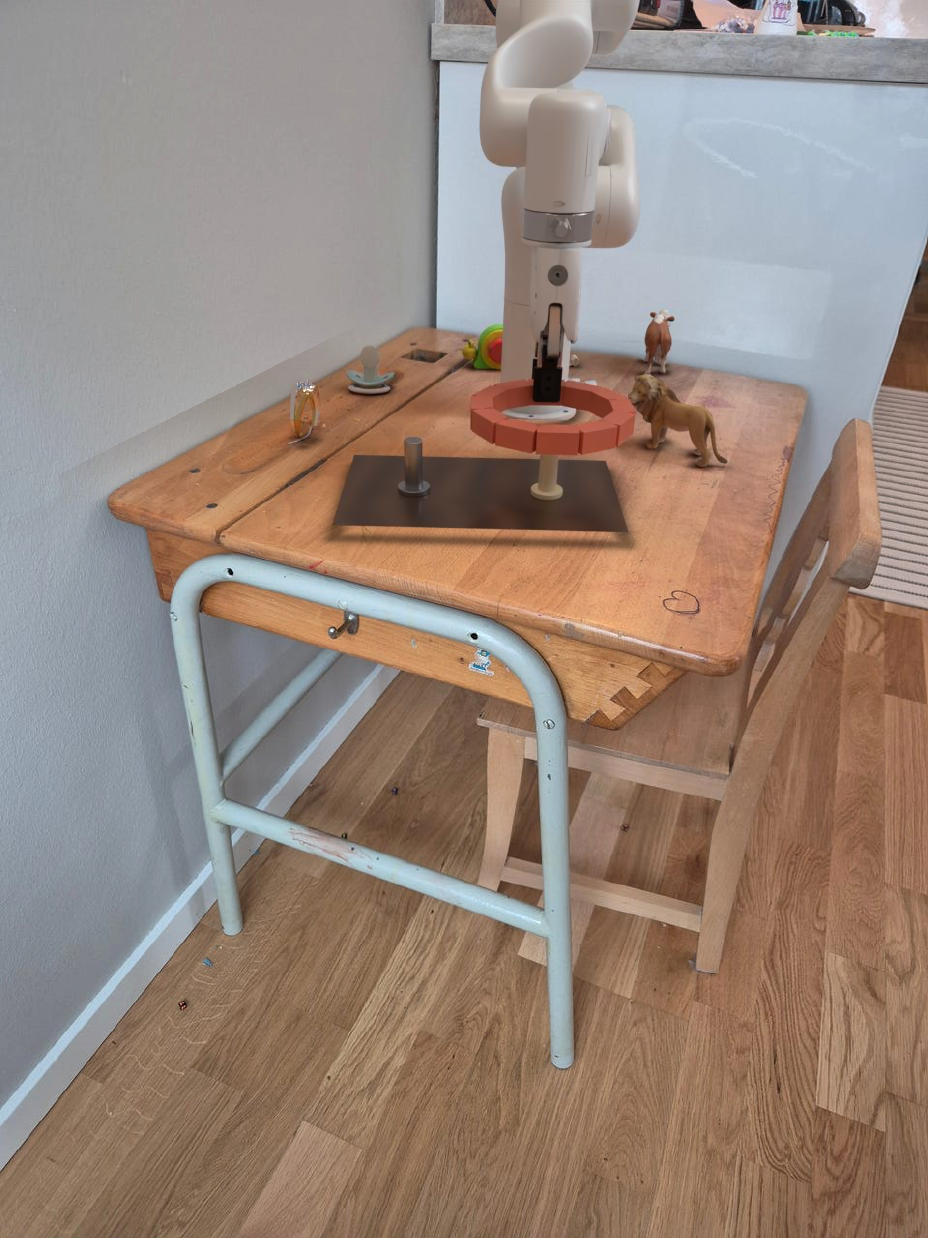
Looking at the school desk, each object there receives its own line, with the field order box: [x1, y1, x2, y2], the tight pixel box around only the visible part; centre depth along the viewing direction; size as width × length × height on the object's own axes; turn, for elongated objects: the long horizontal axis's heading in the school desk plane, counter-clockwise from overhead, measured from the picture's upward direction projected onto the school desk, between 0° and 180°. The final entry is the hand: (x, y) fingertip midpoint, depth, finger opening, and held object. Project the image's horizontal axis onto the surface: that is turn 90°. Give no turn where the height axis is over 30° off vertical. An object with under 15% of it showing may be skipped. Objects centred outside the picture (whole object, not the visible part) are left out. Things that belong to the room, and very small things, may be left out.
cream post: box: [531, 454, 563, 500], centre depth 95 cm, size 4×4×6 cm
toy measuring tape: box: [461, 323, 580, 370], centre depth 140 cm, size 6×20×7 cm, turn 96°
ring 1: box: [289, 378, 322, 439], centre depth 111 cm, size 7×3×8 cm, turn 160°
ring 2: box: [469, 379, 637, 456], centre depth 95 cm, size 18×18×2 cm
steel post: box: [398, 436, 430, 497], centre depth 95 cm, size 4×4×6 cm
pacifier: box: [345, 345, 396, 395], centre depth 129 cm, size 7×6×6 cm
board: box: [332, 454, 629, 533], centre depth 98 cm, size 31×19×2 cm, turn 89°
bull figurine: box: [642, 309, 675, 375], centre depth 141 cm, size 4×13×8 cm, turn 167°
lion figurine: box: [627, 373, 728, 468], centre depth 110 cm, size 15×5×9 cm, turn 50°
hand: (545, 395), depth 102 cm, fingers closed on ring 2, 2 cm apart
